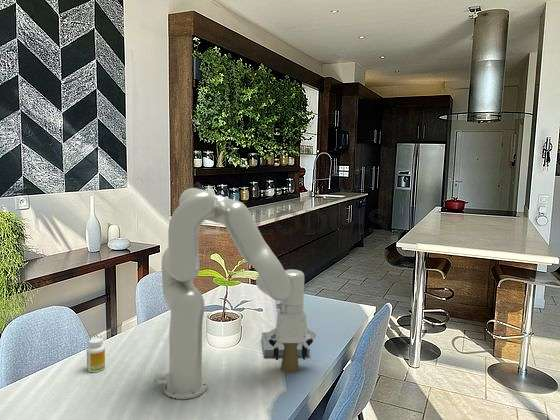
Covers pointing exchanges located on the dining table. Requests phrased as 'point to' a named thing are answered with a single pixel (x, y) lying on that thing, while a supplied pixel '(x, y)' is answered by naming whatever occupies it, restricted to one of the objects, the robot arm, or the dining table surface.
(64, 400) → the dining table surface
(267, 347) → the tray
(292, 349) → the cork
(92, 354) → the supplement bottle
